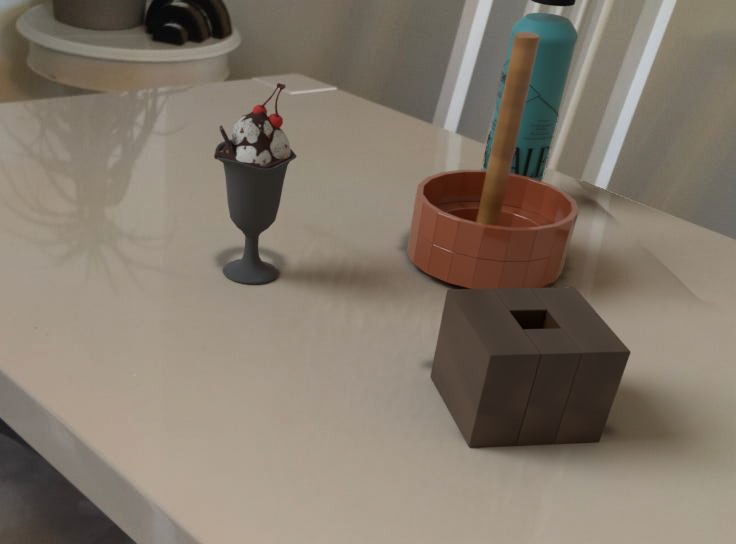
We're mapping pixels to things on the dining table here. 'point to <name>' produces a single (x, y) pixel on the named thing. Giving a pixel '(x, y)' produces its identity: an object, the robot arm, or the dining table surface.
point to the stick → (507, 126)
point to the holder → (526, 366)
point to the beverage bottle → (539, 89)
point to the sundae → (254, 185)
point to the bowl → (490, 232)
